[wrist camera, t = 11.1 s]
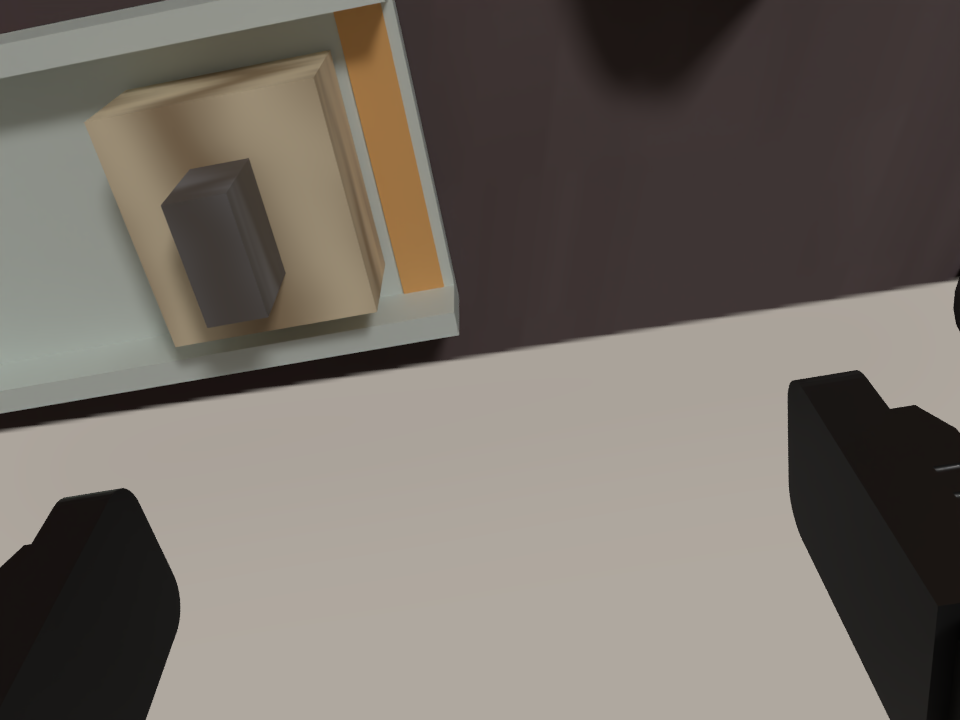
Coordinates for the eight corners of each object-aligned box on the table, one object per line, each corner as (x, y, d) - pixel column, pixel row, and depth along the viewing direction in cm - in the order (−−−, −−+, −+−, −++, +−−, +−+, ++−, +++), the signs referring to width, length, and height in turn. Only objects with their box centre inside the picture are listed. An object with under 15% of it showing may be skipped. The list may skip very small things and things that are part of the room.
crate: (330, 50, 38) (297, 105, 30) (385, 264, 43) (369, 358, 35) (125, 90, 39) (41, 154, 31) (203, 296, 44) (148, 396, 36)
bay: (384, -44, 37) (373, -25, 32) (459, 296, 45) (459, 356, 40) (-198, 74, 39) (-298, 110, 34) (-29, 381, 47) (-89, 449, 42)
